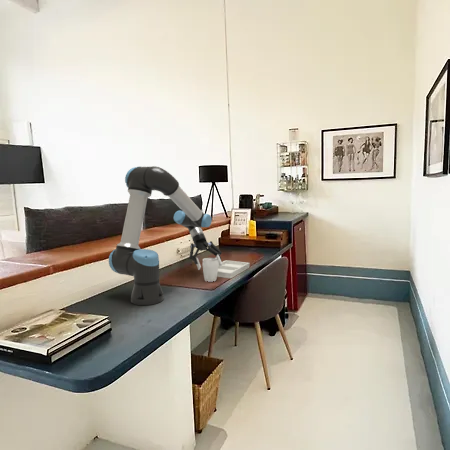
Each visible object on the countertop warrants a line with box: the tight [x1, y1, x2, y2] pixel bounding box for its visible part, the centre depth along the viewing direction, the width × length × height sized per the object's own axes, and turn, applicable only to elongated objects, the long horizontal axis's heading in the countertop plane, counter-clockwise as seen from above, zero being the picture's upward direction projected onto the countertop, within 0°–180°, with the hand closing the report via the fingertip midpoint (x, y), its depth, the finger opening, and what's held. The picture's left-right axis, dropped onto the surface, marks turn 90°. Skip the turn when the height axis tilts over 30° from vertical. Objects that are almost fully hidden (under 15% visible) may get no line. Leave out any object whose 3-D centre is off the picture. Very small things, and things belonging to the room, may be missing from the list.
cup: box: [201, 257, 218, 283], centre depth 199 cm, size 9×9×12 cm
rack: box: [217, 259, 250, 279], centre depth 219 cm, size 28×17×3 cm, turn 154°
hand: (210, 266), depth 200 cm, fingers open, 13 cm apart
